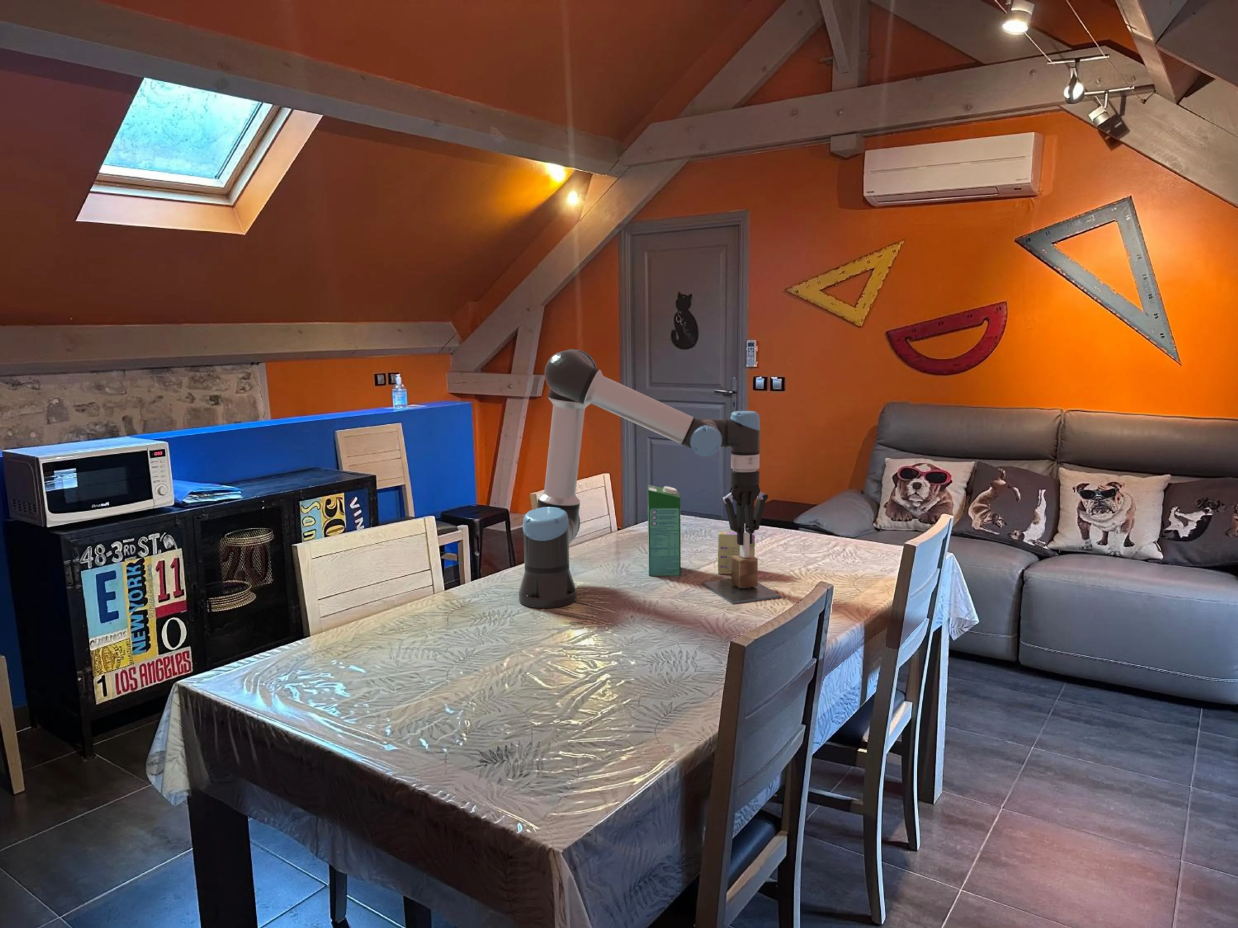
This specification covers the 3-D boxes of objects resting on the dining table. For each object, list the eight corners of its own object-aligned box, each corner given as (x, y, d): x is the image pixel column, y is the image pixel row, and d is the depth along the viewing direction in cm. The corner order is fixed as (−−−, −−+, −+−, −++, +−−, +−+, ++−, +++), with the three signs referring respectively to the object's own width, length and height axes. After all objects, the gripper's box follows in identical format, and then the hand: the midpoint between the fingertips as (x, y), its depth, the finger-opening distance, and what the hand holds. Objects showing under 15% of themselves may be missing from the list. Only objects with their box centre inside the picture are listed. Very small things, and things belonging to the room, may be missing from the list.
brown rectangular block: (739, 588, 228) (740, 560, 227) (731, 582, 233) (731, 555, 232) (757, 586, 230) (757, 558, 229) (748, 580, 235) (748, 553, 234)
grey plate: (732, 603, 219) (732, 573, 217) (703, 584, 235) (703, 556, 234) (780, 597, 223) (781, 567, 222) (748, 579, 240) (749, 551, 239)
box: (753, 569, 250) (753, 529, 248) (754, 574, 244) (755, 534, 242) (717, 568, 251) (717, 529, 249) (717, 574, 245) (718, 534, 243)
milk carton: (680, 575, 244) (680, 489, 240) (649, 575, 244) (648, 489, 240) (679, 566, 253) (678, 483, 249) (648, 567, 253) (647, 484, 249)
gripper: (729, 473, 221) (728, 562, 225) (774, 470, 225) (773, 557, 229) (716, 469, 228) (716, 555, 232) (760, 465, 232) (759, 550, 236)
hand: (744, 556), depth 230 cm, fingers closed
